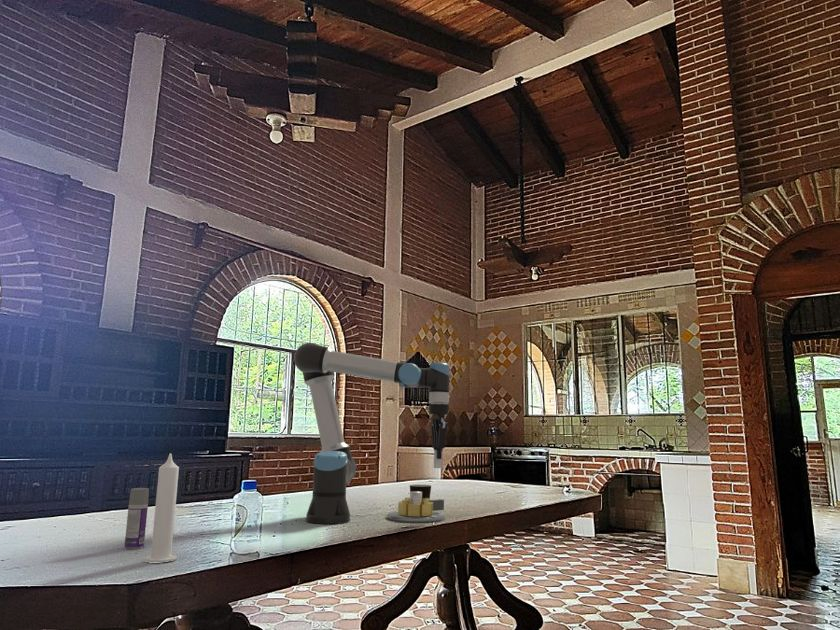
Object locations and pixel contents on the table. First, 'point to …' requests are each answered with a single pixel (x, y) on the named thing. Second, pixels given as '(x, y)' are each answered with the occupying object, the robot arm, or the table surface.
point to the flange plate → (416, 499)
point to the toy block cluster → (420, 507)
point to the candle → (164, 513)
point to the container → (136, 518)
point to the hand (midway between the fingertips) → (437, 468)
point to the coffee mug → (422, 490)
